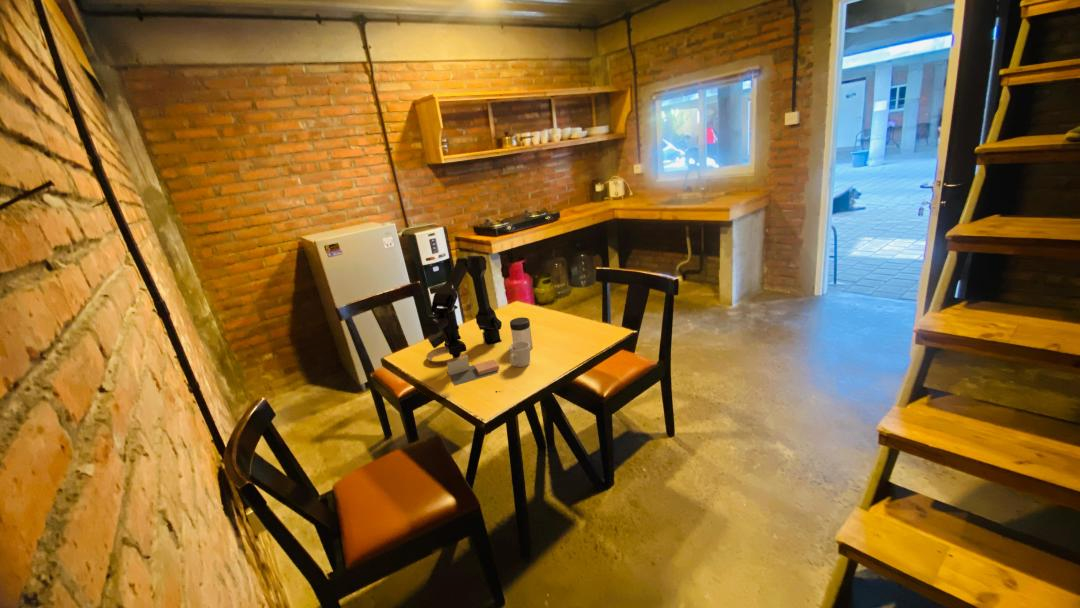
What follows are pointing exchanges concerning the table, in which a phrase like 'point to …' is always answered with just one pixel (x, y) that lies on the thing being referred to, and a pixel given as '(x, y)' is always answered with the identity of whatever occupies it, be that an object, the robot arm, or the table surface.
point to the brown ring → (438, 352)
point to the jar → (521, 330)
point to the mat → (468, 376)
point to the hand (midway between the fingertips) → (456, 361)
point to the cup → (520, 354)
